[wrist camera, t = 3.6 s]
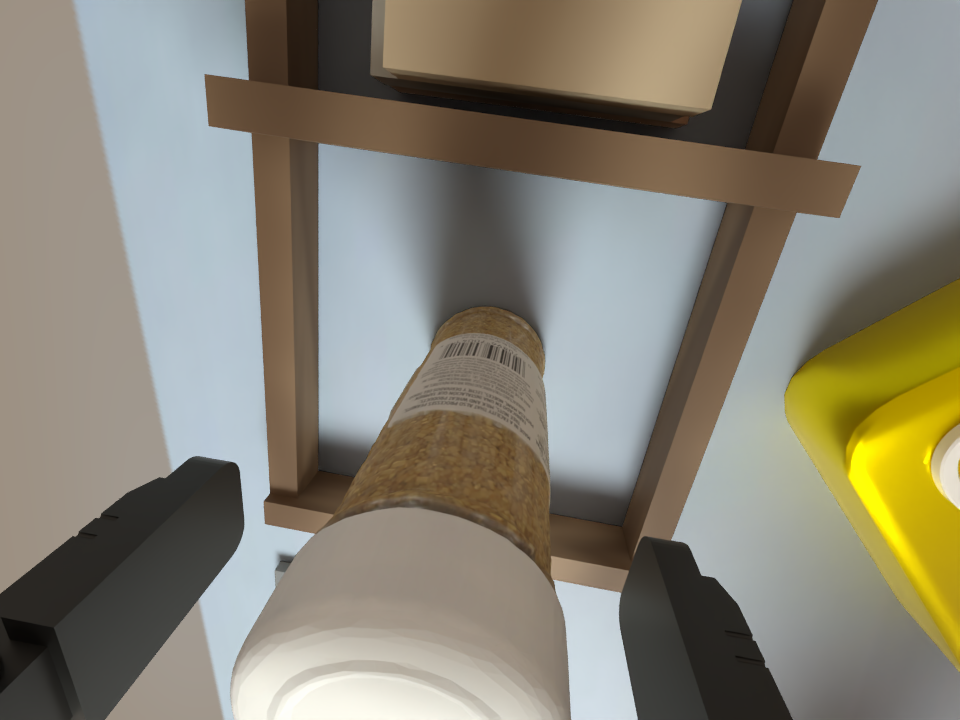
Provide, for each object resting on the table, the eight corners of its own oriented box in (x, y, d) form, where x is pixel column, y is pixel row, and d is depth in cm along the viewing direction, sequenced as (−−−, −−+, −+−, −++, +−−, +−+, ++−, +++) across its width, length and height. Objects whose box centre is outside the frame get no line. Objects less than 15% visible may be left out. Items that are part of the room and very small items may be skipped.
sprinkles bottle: (414, 377, 19) (178, 766, 6) (464, 280, 17) (274, 556, 5) (511, 428, 19) (468, 890, 7) (569, 338, 17) (656, 737, 5)
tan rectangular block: (718, -42, 13) (796, -136, 9) (673, 129, 15) (723, 111, 11) (407, -77, 14) (356, -179, 10) (397, 93, 15) (351, 63, 11)
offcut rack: (881, -120, 12) (1037, -254, 8) (641, 552, 21) (665, 633, 17) (275, -186, 13) (170, -333, 9) (293, 486, 22) (244, 550, 18)
